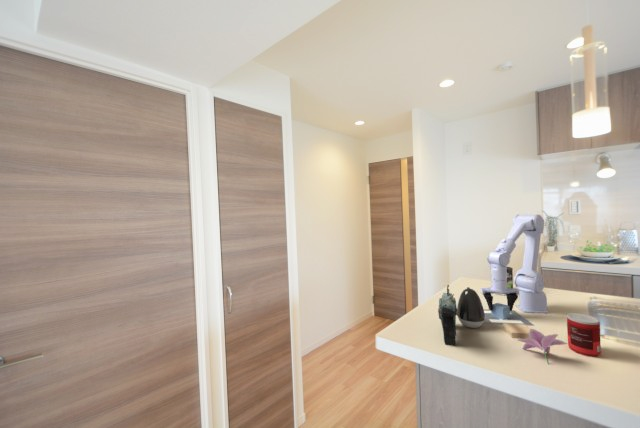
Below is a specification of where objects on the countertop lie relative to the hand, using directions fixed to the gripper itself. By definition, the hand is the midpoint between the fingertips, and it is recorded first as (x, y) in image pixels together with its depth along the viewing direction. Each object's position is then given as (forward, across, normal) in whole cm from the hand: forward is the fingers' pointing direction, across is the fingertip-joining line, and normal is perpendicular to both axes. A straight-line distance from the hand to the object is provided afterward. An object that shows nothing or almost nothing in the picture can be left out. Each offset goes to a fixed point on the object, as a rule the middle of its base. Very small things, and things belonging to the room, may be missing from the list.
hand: (500, 309), depth 115 cm
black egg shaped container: (+3, +15, +10) cm, 18 cm away
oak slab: (+3, +1, +16) cm, 16 cm away
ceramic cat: (+3, +27, +19) cm, 33 cm away
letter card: (+3, 0, 0) cm, 3 cm away
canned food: (+3, -13, +26) cm, 30 cm away
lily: (+3, +2, +32) cm, 32 cm away
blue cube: (+3, 0, 0) cm, 3 cm away
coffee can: (+3, -16, -34) cm, 38 cm away
